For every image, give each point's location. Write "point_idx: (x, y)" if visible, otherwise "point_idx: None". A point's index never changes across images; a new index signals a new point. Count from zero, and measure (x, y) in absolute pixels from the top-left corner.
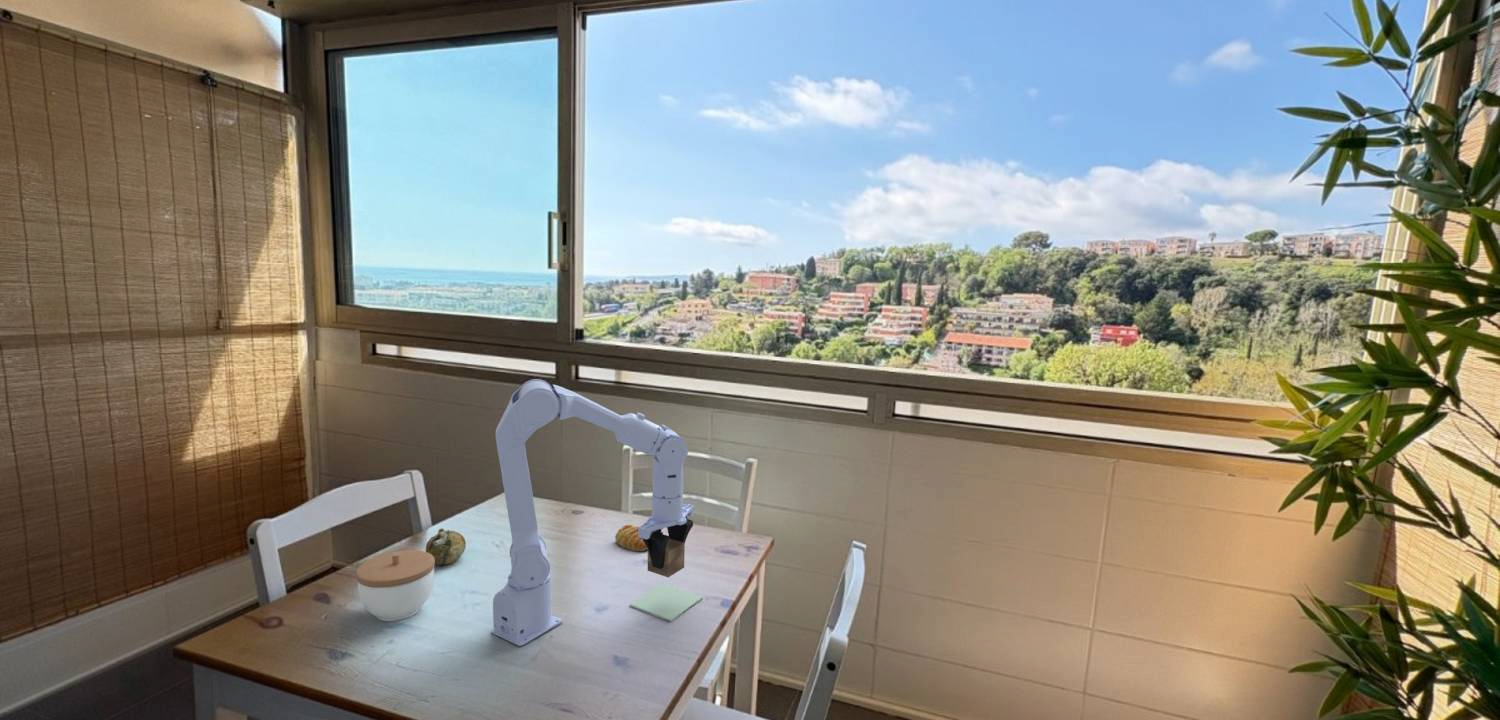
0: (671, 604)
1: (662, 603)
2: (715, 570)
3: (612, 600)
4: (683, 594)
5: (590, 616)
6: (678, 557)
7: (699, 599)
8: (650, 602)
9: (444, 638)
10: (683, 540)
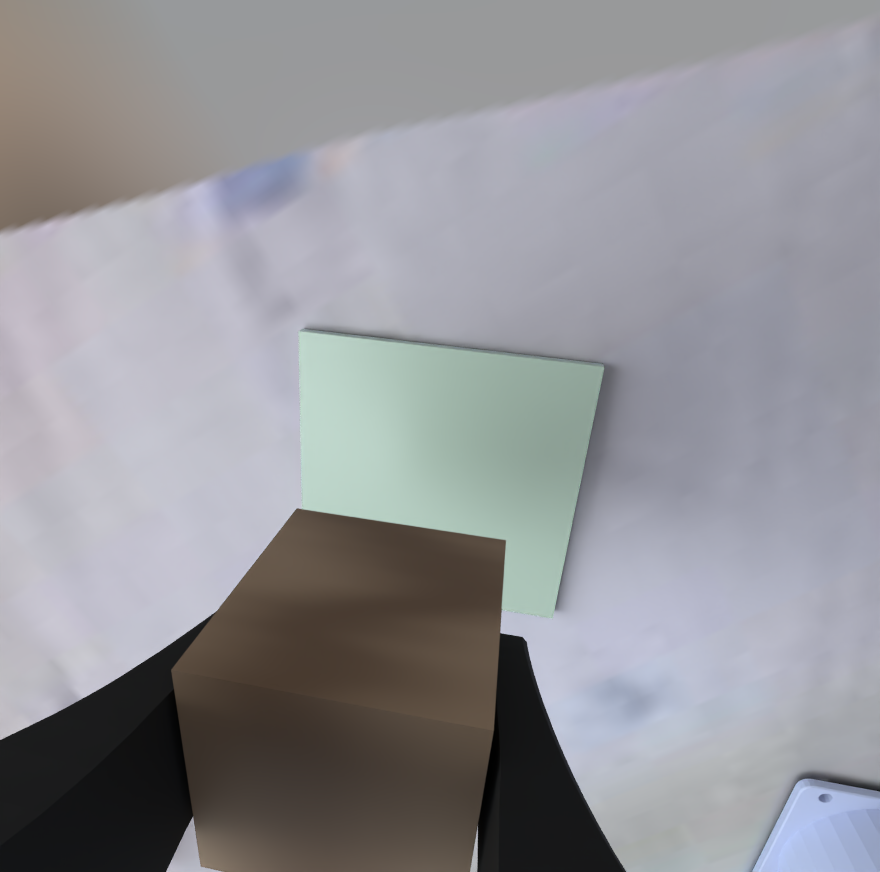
0: (457, 444)
1: (471, 489)
2: (26, 414)
3: (540, 690)
4: (335, 438)
5: (706, 707)
6: (335, 596)
7: (328, 334)
8: None
9: None
10: (142, 703)
